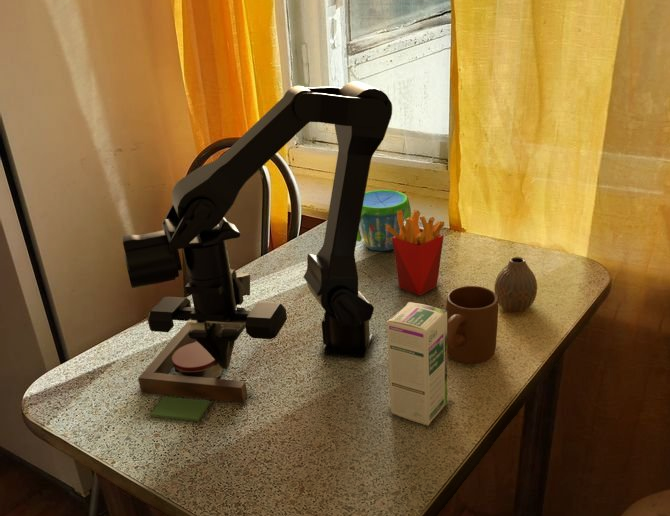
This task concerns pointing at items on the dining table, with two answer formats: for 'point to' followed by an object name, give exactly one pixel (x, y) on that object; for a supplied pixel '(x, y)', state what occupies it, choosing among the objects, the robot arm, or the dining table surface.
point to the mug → (471, 324)
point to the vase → (516, 286)
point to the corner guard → (187, 377)
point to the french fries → (417, 252)
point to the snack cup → (382, 217)
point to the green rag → (180, 409)
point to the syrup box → (418, 362)
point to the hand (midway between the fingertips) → (226, 367)
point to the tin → (195, 362)
